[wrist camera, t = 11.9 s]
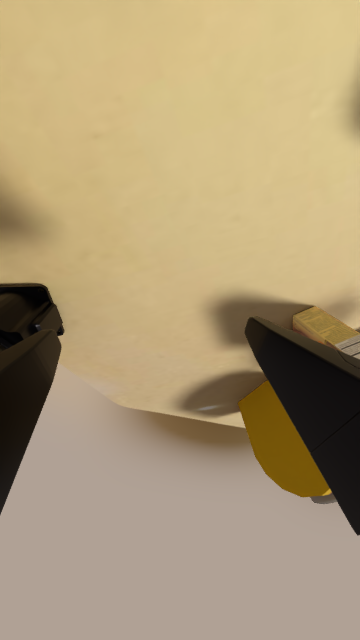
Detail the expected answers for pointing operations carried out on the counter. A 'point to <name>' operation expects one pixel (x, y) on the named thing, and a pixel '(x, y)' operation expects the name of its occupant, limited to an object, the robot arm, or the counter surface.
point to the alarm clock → (281, 446)
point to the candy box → (327, 331)
